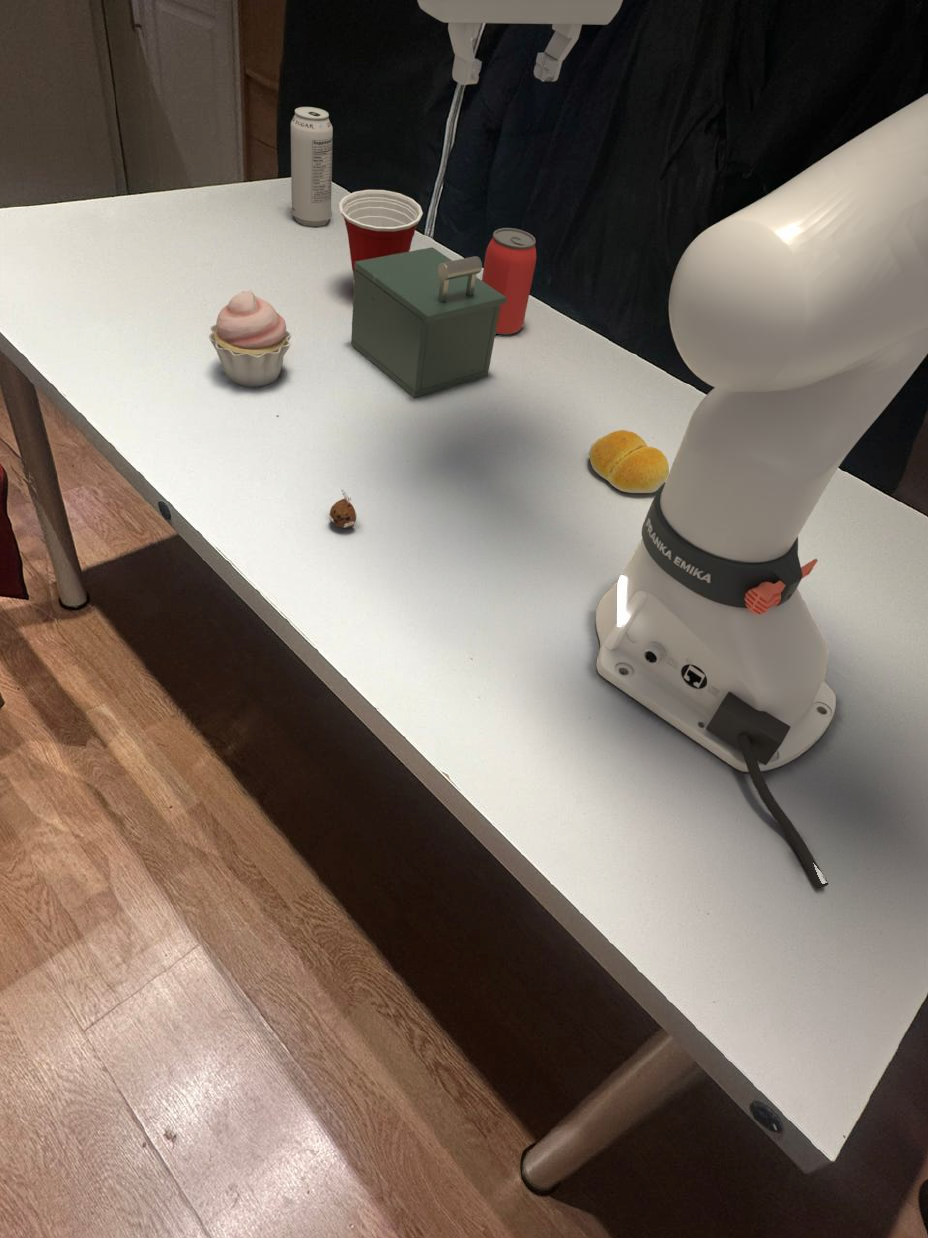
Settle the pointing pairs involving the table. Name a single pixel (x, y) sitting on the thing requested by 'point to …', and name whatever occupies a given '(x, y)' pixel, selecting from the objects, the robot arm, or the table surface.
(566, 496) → the table surface
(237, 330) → the cupcake
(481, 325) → the bin
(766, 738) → the robot arm
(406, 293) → the bin lid
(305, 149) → the energy drink can
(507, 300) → the beer can
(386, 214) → the plastic cup
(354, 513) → the chocolate
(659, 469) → the bread roll
